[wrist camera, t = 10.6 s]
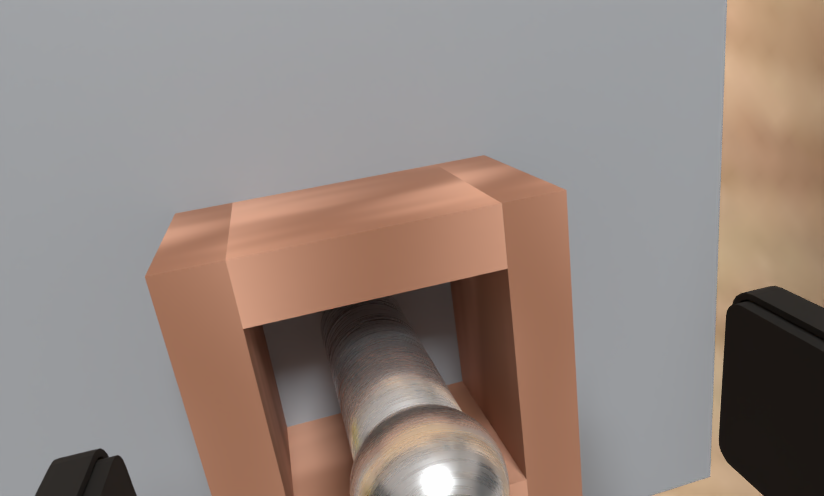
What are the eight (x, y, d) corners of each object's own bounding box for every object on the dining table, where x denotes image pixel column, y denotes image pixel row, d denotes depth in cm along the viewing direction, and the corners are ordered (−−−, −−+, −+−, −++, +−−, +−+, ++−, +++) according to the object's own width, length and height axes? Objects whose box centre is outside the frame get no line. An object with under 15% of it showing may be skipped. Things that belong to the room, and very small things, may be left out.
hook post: (402, 267, 15) (531, 445, 8) (415, 355, 15) (542, 585, 9) (303, 289, 14) (350, 498, 7) (322, 378, 15) (379, 639, 8)
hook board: (686, -74, 15) (729, -87, 14) (679, 448, 21) (710, 476, 19) (-232, 36, 12) (-298, 33, 10) (47, 641, 17) (29, 694, 15)
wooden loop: (484, 155, 14) (566, 189, 11) (508, 407, 17) (583, 509, 13) (175, 213, 13) (144, 276, 9) (249, 480, 15) (248, 616, 11)
